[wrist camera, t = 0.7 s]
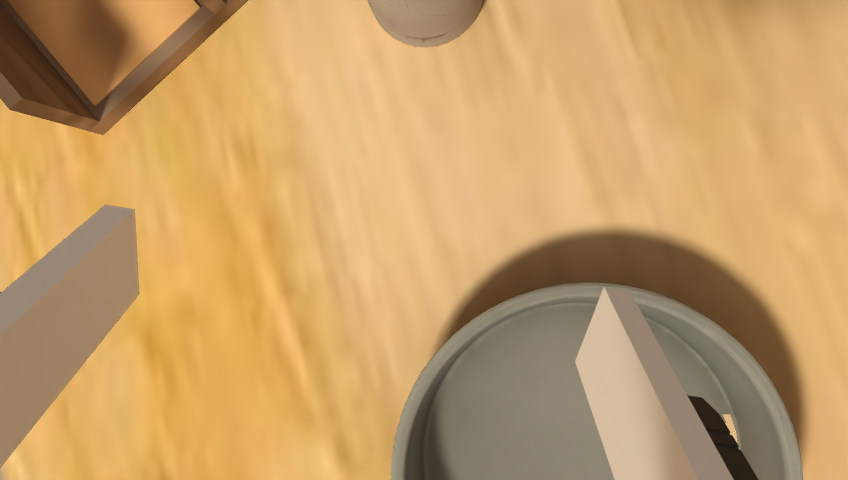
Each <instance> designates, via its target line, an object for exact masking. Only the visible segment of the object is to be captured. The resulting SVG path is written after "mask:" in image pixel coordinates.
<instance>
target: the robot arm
mask: <svg viewBox="0 0 848 480" xmlns="http://www.w3.org/2000/svg"><path fill="white" fill-rule="evenodd" d="M138 295H139V280H138V261H137V243H136V224H135V209H129V208H123V207H117V206H111V205H104V206H103V207H102V208H101V209H100V210H98V211H97V212H96V213H95V214H94V215H93V216H91V217H90V218H89V219H88V220H87V221H85V222H84V223H83V224H82V225H81V226H80V227H78V228H77V229H76V230H75V231H74V232H72V233H71V234H70V235H69V236H68V237H67V238H65V239H64V240H63V241H62V242H61V243H59V244H58V245H57V246H56V247H55V248H54V249H52V250H51V251H50V252H49V253H48V254H46V255H45V256H44V257H43V258H42V259H41V260H39V261H38V262H37V263H36V264H35V265H33V266H32V267H31V268H30V269H29V270H27V271H26V272H25V273H24V274H23V275H22V276H20V277H19V278H18V279H17V280H16V281H14V282H13V283H12V284H11V285H10V286H9V287H7V288H6V289H5V290H4V291H3V292H0V468H1V466H2V465H3V464H4V463H5V461H6V460H7V459H8V458H9V456H10V455H11V454H12V453H13V451H14V450H15V449H16V448H17V446H18V445H19V444H20V443H21V441H22V440H23V439H24V438H25V436H26V435H27V434H28V433H29V431H30V430H31V429H32V428H33V426H34V425H35V424H36V423H37V421H38V420H39V419H40V418H41V416H42V415H43V414H44V413H45V411H46V410H47V409H48V408H49V406H50V405H51V404H52V403H53V401H54V400H55V399H56V398H57V396H58V395H59V394H60V393H61V391H62V390H63V389H64V388H65V386H66V385H67V384H68V383H69V381H70V380H71V379H72V378H73V376H74V375H75V374H76V373H77V371H78V370H79V369H80V368H81V366H82V365H83V364H84V363H85V361H86V360H87V359H88V358H89V356H90V355H91V354H92V353H93V351H94V350H95V349H96V348H97V346H98V345H99V344H100V343H101V341H102V340H103V339H104V338H105V336H106V335H107V334H108V333H109V331H110V330H111V329H112V328H113V326H114V325H115V324H116V323H117V321H118V320H119V319H120V318H121V316H122V315H123V314H124V313H125V311H126V310H127V309H128V308H129V306H130V305H131V304H132V303H133V301H134V300H135V299H136V298H137V296H138ZM575 363H576V366H577V369H578V372H579V375H580V378H581V381H582V384H583V387H584V390H585V393H586V396H587V399H588V402H589V405H590V408H591V411H592V414H593V417H594V420H595V423H596V426H597V429H598V432H599V435H600V437H601V440H602V443H603V446H604V449H605V452H606V455H607V458H608V461H609V464H610V467H611V470H612V473H613V476H614V479H615V480H758V478H757V476H756V475H755V473H754V471H753V470H752V468H751V466H750V464H749V463H748V461H747V459H746V458H745V456H744V454H743V453H742V451H741V450H739V449H738V447H739V446H738V444H737V443H736V441H735V439H734V438H733V436H732V435H730V431H729V429H728V428H727V426H726V424H725V423H724V421H723V419H722V418H721V416H720V414H719V413H718V412H717V411H716V410H715V409H714V408H713V407H712V406H711V405H709V404H708V403H707V402H706V401H705V400H704V399H703V398H702V397H696V396H689V395H687V394H686V392H685V391H684V389H683V387H682V385H681V383H680V381H679V380H678V378H677V376H676V374H675V372H674V371H673V369H672V367H671V365H670V363H669V362H668V360H667V358H666V356H665V354H664V352H663V351H662V349H661V347H660V345H659V343H658V342H657V340H656V338H655V336H654V334H653V332H652V331H651V329H650V327H649V325H648V323H647V322H646V320H645V318H644V316H643V314H642V313H641V311H640V309H639V307H638V305H637V303H636V302H635V300H634V298H633V296H632V294H631V293H630V291H627V290H621V289H614V288H608V287H604V288H603V291H602V293H601V296H600V298H599V301H598V303H597V306H596V309H595V311H594V314H593V316H592V319H591V322H590V324H589V327H588V329H587V332H586V334H585V337H584V340H583V342H582V345H581V347H580V350H579V352H578V355H577V358H576V360H575Z"/></svg>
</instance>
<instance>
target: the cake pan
mask: <svg viewBox="0 0 848 480" xmlns="http://www.w3.org/2000/svg"><path fill="white" fill-rule="evenodd" d="M604 287H608V288H614V289H621V290H627V291H630V293H631V294H632V296H633V298H634V300H635V302H636V303H637V305H638V307H639V309H640V311H641V313H642V314H643V316H644V318H645V320H646V322H647V323H648V325H649V327H650V329H651V331H652V332H653V334H654V336H655V338H656V340H657V342H658V343H659V345H660V347H661V349H662V351H663V352H664V354H665V356H666V358H667V360H668V362H669V363H670V365H671V367H672V369H673V371H674V372H675V374H676V376H677V378H678V380H679V381H680V383H681V385H682V387H683V389H684V391H685V392H686V394H687V395H689V396H696V397H702V398H703V399H704V400H705V401H706V402H707V403H708V404H709V405H711V406H712V407H713V408H714V409H715V410H716V411H717V412H718V413H719V414H720V416H721V418H722V419H723V421H724V422H725V420H724V417H723V415H722V414H731V417H732V420H733V423H734V426H735V430H736V433H737V439H738V446H739V447H738V448H739V450H741V451H742V453H743V454H744V456H745V458H746V459H747V461H748V463H749V464H750V466H751V468H752V470H753V471H754V473H755V475H756V476H757V478H758V480H803V472H802V462H801V456H800V451H799V446H798V442H797V438H796V434H795V430H794V426H793V424H792V422H791V419H790V416H789V414H788V412H787V410H786V407H785V405H784V403H783V401H782V399H781V397H780V395H779V393H778V391H777V389H776V388H775V386H774V385H773V383H772V381H771V380H770V378H769V377H768V375H767V374H766V373H765V371H764V370H763V368H762V367H761V366H760V364H759V363H758V362H757V361H756V360H755V358H754V357H753V356H752V355H751V354H750V353H749V352H748V351H747V350H746V349H745V348H744V346H743V345H742V344H741V343H740V342H738V341H737V340H736V339H735V338H734V337H733V336H732V335H730V334H729V333H728V332H727V331H726V330H724V329H723V328H722V327H721V326H719V325H718V324H717V323H715V322H714V321H713V320H711V319H709V318H708V317H706V316H705V315H703V314H701V313H700V312H698V311H696V310H694V309H692V308H691V307H689V306H687V305H685V304H683V303H681V302H678V301H676V300H674V299H672V298H670V297H667V296H664V295H661V294H658V293H655V292H653V291H649V290H646V289H641V288H637V287H632V286H627V285H620V284H615V283H599V282H591V283H569V284H558V285H553V286H549V287H545V288H541V289H536V290H533V291H530V292H526V293H523V294H521V295H518V296H516V297H513V298H510V299H508V300H506V301H503V302H501V303H500V304H498V305H496V306H494V307H492V308H490V309H488V310H487V311H485V312H483V313H482V314H480V315H479V316H477V317H476V318H474V319H472V320H471V321H470V322H469V323H467V324H466V325H464V326H463V327H462V328H461V329H460V330H458V331H457V332H456V333H455V334H454V335H453V336H452V337H451V338H450V339H449V340H448V341H447V342H446V343H445V344H444V345H443V346H442V347H441V348H440V349H439V350H438V352H437V353H436V354H435V355H434V356H433V357H432V359H431V360H430V361H429V363H428V364H427V366H426V367H425V368H424V369H423V370H422V372H421V374H420V375H419V377H418V379H417V381H416V382H415V384H414V386H413V388H412V390H411V392H410V394H409V396H408V399H407V401H406V403H405V405H404V408H403V411H402V414H401V417H400V422H399V424H398V428H397V432H396V436H395V442H394V447H393V455H392V465H391V480H615V479H614V476H613V473H612V470H611V467H610V464H609V461H608V458H607V455H606V452H605V449H604V446H603V443H602V440H601V437H600V435H599V432H598V429H597V426H596V423H595V420H594V417H593V414H592V411H591V408H590V405H589V402H588V399H587V396H586V393H585V390H584V387H583V384H582V381H581V378H580V375H579V372H578V369H577V366H576V363H575V360H576V358H577V355H578V352H579V350H580V347H581V345H582V342H583V340H584V337H585V334H586V332H587V329H588V327H589V324H590V322H591V319H592V316H593V314H594V311H595V309H596V306H597V303H598V301H599V298H600V296H601V293H602V291H603V288H604ZM725 423H726V422H725Z"/></svg>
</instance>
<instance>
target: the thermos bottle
mask: <svg viewBox="0 0 848 480" xmlns="http://www.w3.org/2000/svg"><path fill="white" fill-rule="evenodd" d="M367 1H368V3H369V5H370V7H371V9H372V11H373V13H374V15H375V17H376V19H377V21H378V23H379V24H380V25H381V26H382V28H383V29H384V30H385V31H386V32H387V33H388V34H389V35H391V36H392V37H393V38H395V39H397V40H398V41H400V42H402V43H404V44H408V45H411V46H415V47H433V46H439V45H442V44H445V43H448V42H450V41H452V40H454V39H455V38H457V37H459V36H460V35H461V34H462V33H464V32H465V31H466V30H467V29H468V28H469V27H470V26H471V24H472V23H473V22H474V21H475V19H476V17H477V15H478V13H479V12H480V9H481V6H482V3H483V0H367Z"/></svg>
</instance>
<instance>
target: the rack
mask: <svg viewBox="0 0 848 480" xmlns="http://www.w3.org/2000/svg"><path fill="white" fill-rule="evenodd" d="M247 1H248V0H0V99H1V100H2V101H3V102H4V103H5V105H6V106H7V107H8V108H9V109H10V110H13V111H16V112H20V113H24V114H27V115H31V116H35V117H39V118H42V119H46V120H50V121H53V122H57V123H61V124H64V125H68V126H72V127H76V128H79V129H83V130H87V131H90V132H94V133H98V134H102V135H103V134H105V133H106V132H107V131H108V130H109V129H110V128H111V127H112V126H113V125H114V124H115V123H116V122H117V121H119V120H120V119H121V118H122V117H123V116H124V115H125V114H126V113H127V112H128V111H129V110H130V109H131V108H133V107H134V106H135V105H136V104H137V103H138V102H139V101H140V100H141V99H142V98H143V97H144V96H145V95H147V94H148V93H149V92H150V91H151V90H152V89H153V88H154V87H155V86H156V85H157V84H158V83H160V82H161V81H162V80H163V79H164V78H165V77H166V76H167V75H168V74H169V73H170V72H171V71H172V70H174V69H175V68H176V67H177V66H178V65H179V64H180V63H181V62H182V61H183V60H184V59H185V58H186V57H188V56H189V55H190V54H191V53H192V52H193V51H194V50H195V49H196V48H197V47H198V46H199V45H200V44H202V43H203V42H204V41H205V40H206V39H207V38H208V37H209V36H210V35H211V34H212V33H213V32H214V31H216V30H217V29H218V28H219V27H220V26H221V25H222V24H223V23H224V22H225V21H226V20H227V19H228V18H230V17H231V16H232V15H233V14H234V13H235V12H236V11H237V10H238V9H239V8H240V7H241V6H242V5H244V4H245V3H246V2H247Z"/></svg>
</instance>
